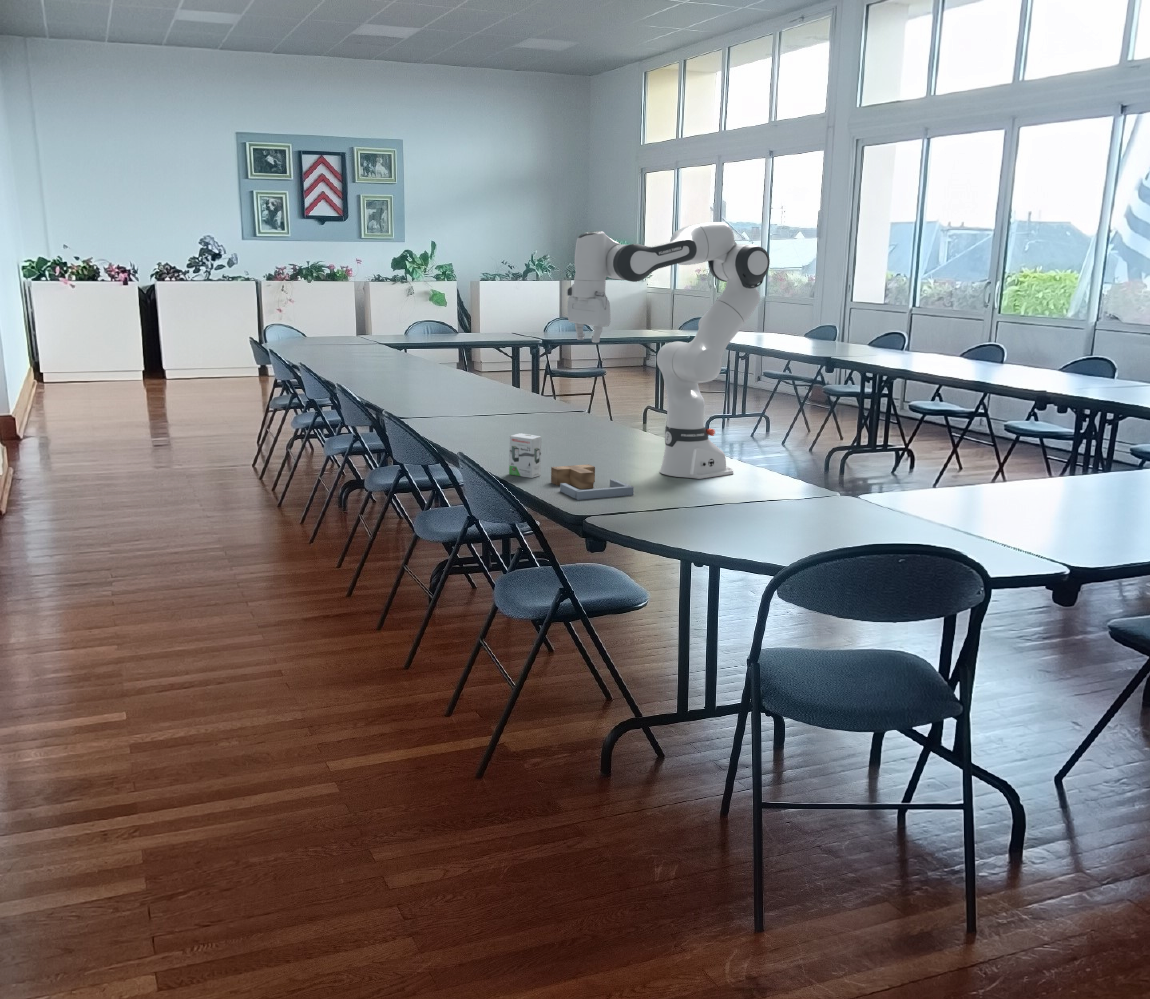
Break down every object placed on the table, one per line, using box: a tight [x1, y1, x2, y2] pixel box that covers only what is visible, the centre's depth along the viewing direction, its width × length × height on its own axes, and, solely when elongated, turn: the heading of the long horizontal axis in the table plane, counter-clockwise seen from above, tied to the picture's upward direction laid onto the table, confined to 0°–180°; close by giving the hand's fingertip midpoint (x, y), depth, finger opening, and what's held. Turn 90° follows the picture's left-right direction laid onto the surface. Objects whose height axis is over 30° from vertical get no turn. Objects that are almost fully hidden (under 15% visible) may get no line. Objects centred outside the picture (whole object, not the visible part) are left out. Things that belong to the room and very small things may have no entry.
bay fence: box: [559, 478, 635, 501], centre depth 289 cm, size 17×11×2 cm, turn 116°
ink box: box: [508, 432, 542, 479], centre depth 310 cm, size 9×5×12 cm, turn 57°
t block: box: [550, 463, 596, 490], centre depth 299 cm, size 12×11×4 cm
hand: (587, 341), depth 297 cm, fingers open, 8 cm apart
